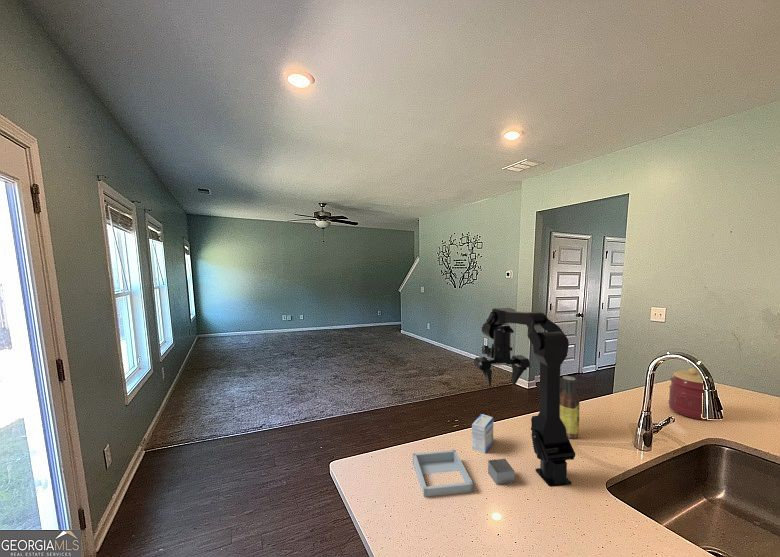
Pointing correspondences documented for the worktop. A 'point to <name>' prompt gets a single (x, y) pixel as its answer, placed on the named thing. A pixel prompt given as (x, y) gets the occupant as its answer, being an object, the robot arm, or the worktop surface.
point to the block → (501, 471)
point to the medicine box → (482, 433)
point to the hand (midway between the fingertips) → (501, 385)
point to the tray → (439, 464)
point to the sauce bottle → (569, 407)
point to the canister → (686, 393)
